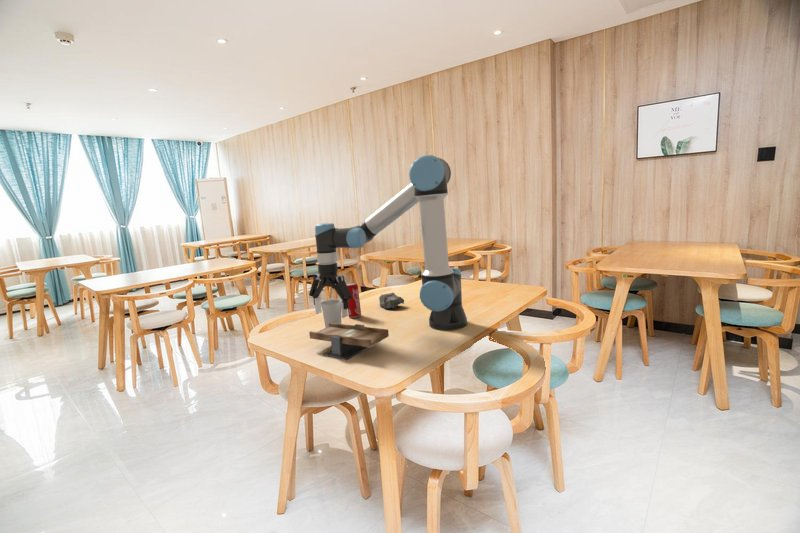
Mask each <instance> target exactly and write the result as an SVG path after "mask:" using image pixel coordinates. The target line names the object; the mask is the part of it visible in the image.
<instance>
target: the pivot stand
mask: <svg viewBox="0 0 800 533" xmlns="http://www.w3.org/2000/svg"><path fill="white" fill-rule="evenodd" d="M354 326H362V327H366V326H365V324H359V323H356V324H354ZM330 344H331V349H330V350H328V351H326V352H324V353H323V356H325V357H330V358H335V359H341V360H345V361H348V360H349V359H351V358H352V357H353V358H354V356H356V355H357V354H359V353H362V352H363V351H364V350H366V349H367V348H369V347H363V346H356V345H350V344H343V343H342V339H341V337H338V336H331V342H330Z"/></svg>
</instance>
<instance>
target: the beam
mask: <svg viewBox="0 0 800 533" xmlns="http://www.w3.org/2000/svg"><path fill="white" fill-rule="evenodd" d="M308 332H309V333H308V334H309V339H312V340H317V341H324V342H329V343H331V336H338V337H341V339H342V343H343V344H350V345H356V346H363V347H368V348H372V347H373V346H375V345H377V344H379V343H380V342H382V341H384V340H385V339H387V338H389V336H390V335H389V329H384V328H377V327H369V326H365V327H362V326H355V324H354V325H352V324H345V323H341V324H337V323H329V327H325V328H324V327H323V329H320V330H318V331H313V330H311V331H308Z"/></svg>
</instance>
